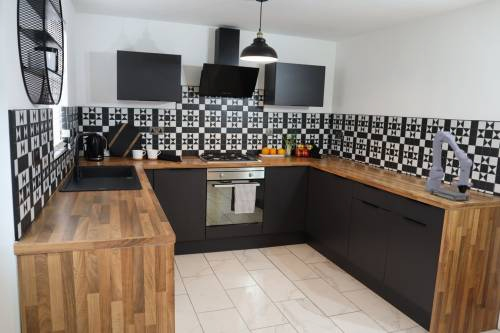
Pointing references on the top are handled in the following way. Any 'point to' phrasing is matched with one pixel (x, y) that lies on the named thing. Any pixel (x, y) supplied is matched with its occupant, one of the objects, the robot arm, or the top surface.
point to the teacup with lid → (454, 188)
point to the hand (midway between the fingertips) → (461, 195)
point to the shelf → (450, 193)
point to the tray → (450, 196)
